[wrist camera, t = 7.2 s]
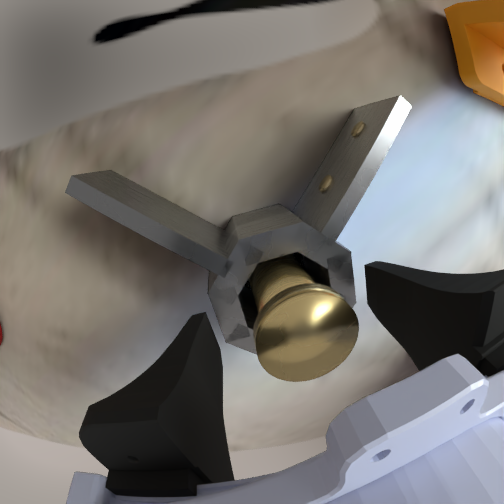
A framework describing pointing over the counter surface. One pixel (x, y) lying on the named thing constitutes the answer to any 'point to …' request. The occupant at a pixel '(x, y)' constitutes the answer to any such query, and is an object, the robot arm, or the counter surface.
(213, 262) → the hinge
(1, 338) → the beverage can
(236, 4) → the counter surface
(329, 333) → the hinge pin
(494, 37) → the bracket
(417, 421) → the robot arm
